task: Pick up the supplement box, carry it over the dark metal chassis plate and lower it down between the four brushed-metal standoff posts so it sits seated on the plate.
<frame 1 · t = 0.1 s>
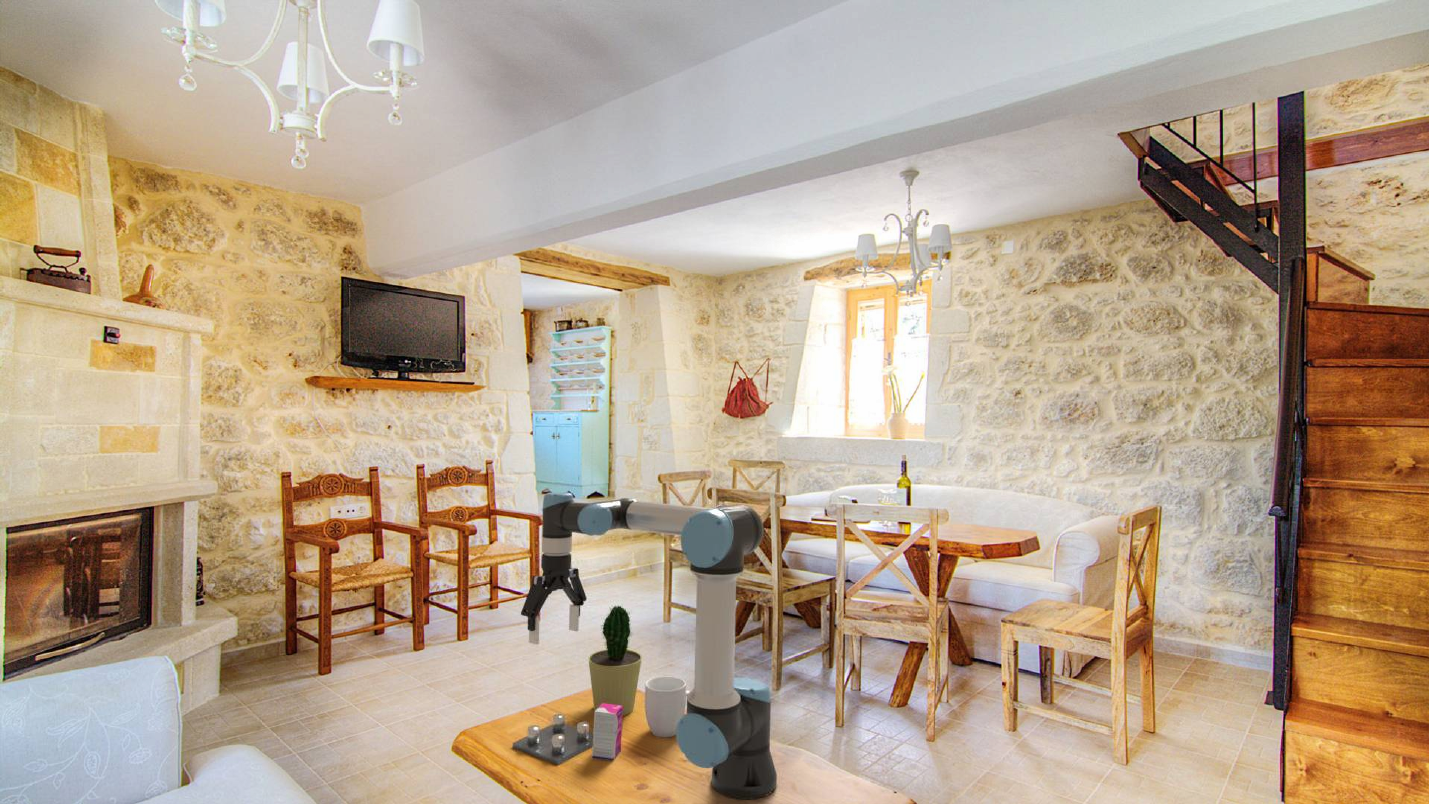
hand: (554, 636, 179), 28 cm above the table, fingers open, 13 cm apart
chassis: (558, 743, 180), on the table
potted cactus: (613, 709, 203), on the table
supplement box: (607, 755, 175), on the table
mug: (668, 732, 189), on the table
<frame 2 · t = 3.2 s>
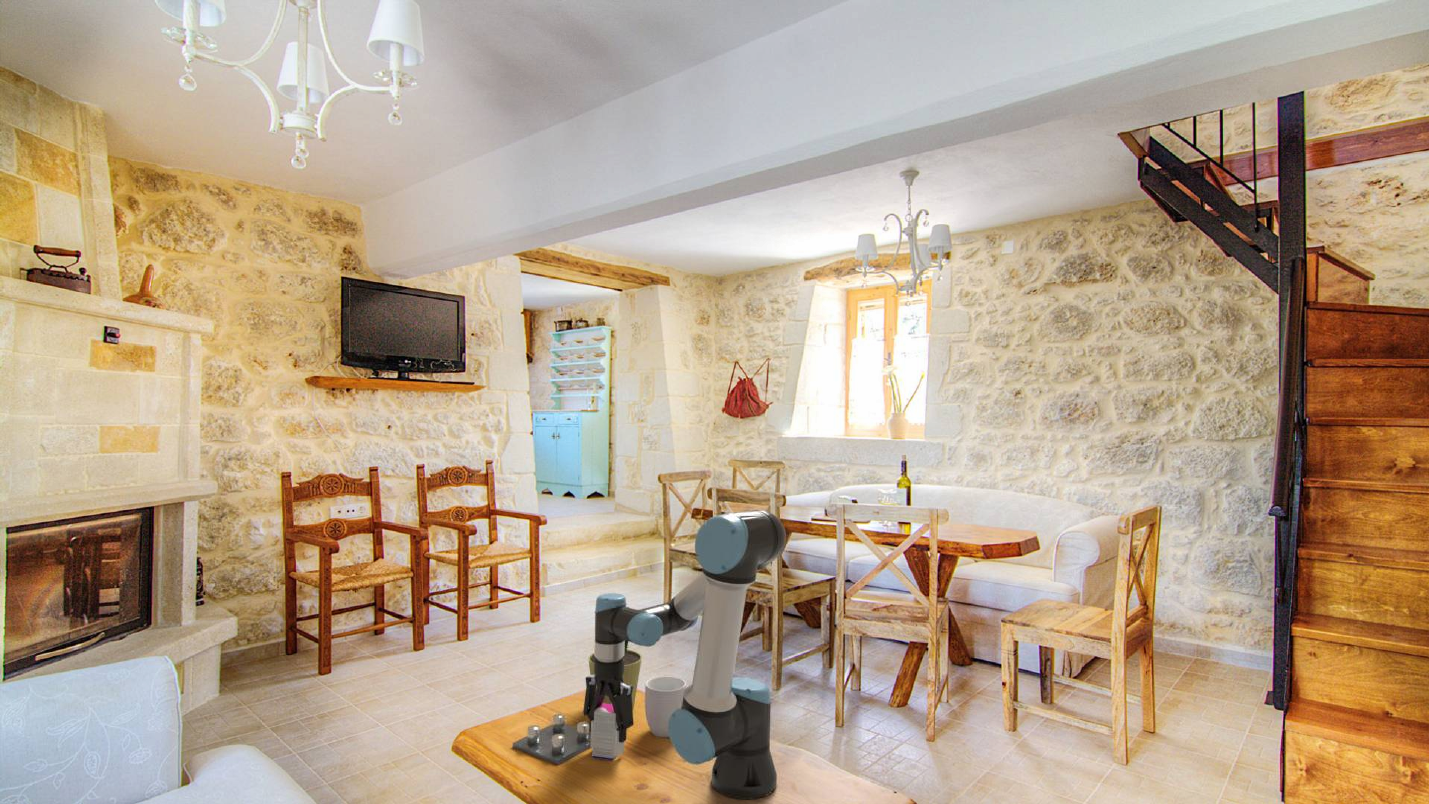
hand: (607, 749, 175), 1 cm above the table, fingers closed on supplement box, 7 cm apart
supplement box: (607, 755, 175), on the table, touching gripper
everything else where it was.
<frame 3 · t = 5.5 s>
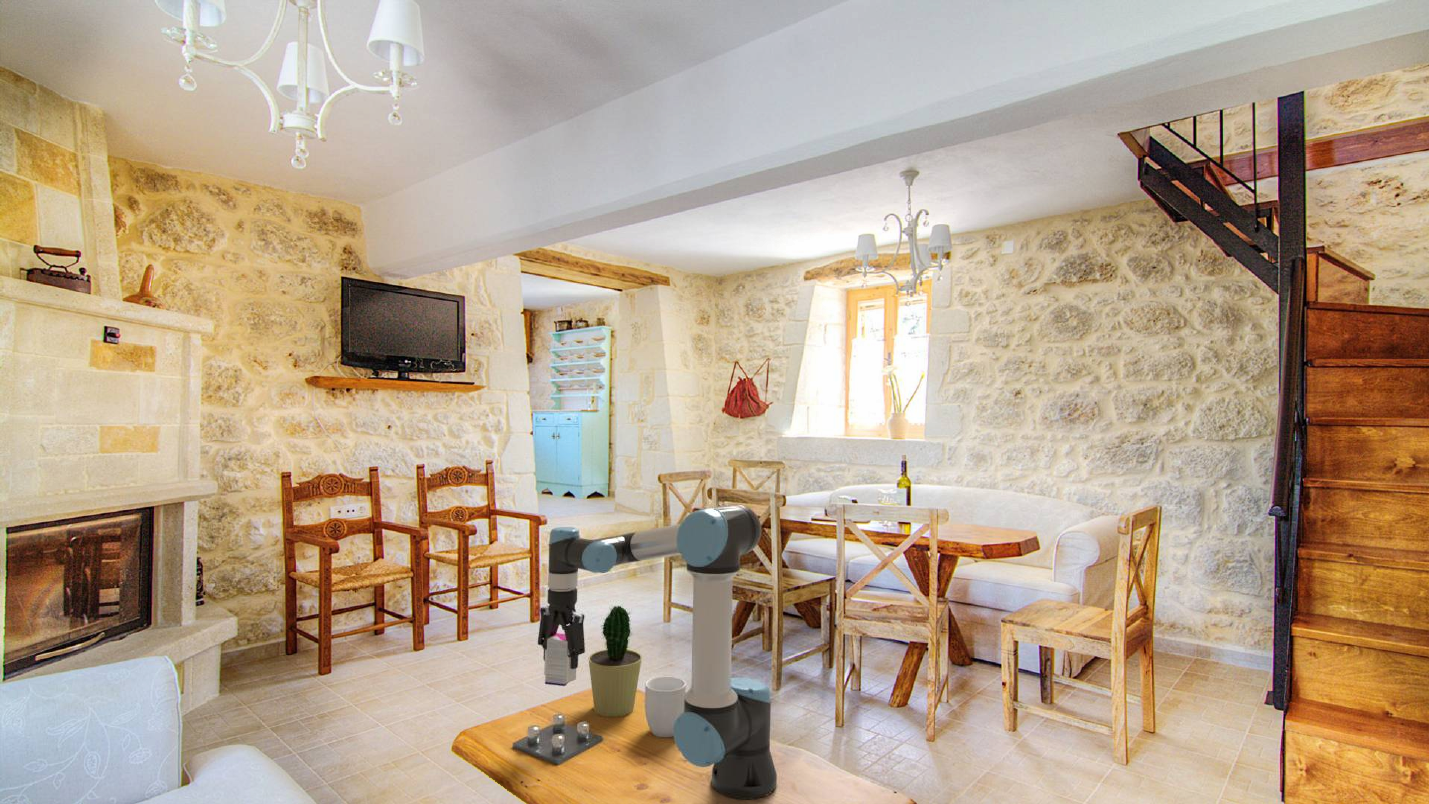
hand: (560, 677, 181), 17 cm above the table, fingers closed on supplement box, 7 cm apart
supplement box: (559, 682, 181), point 16 cm above the table, touching gripper
everything else where it was.
when the fingers open (4 cm above the table, at t = 7.7 s): supplement box drops 1 cm, resting on chassis.
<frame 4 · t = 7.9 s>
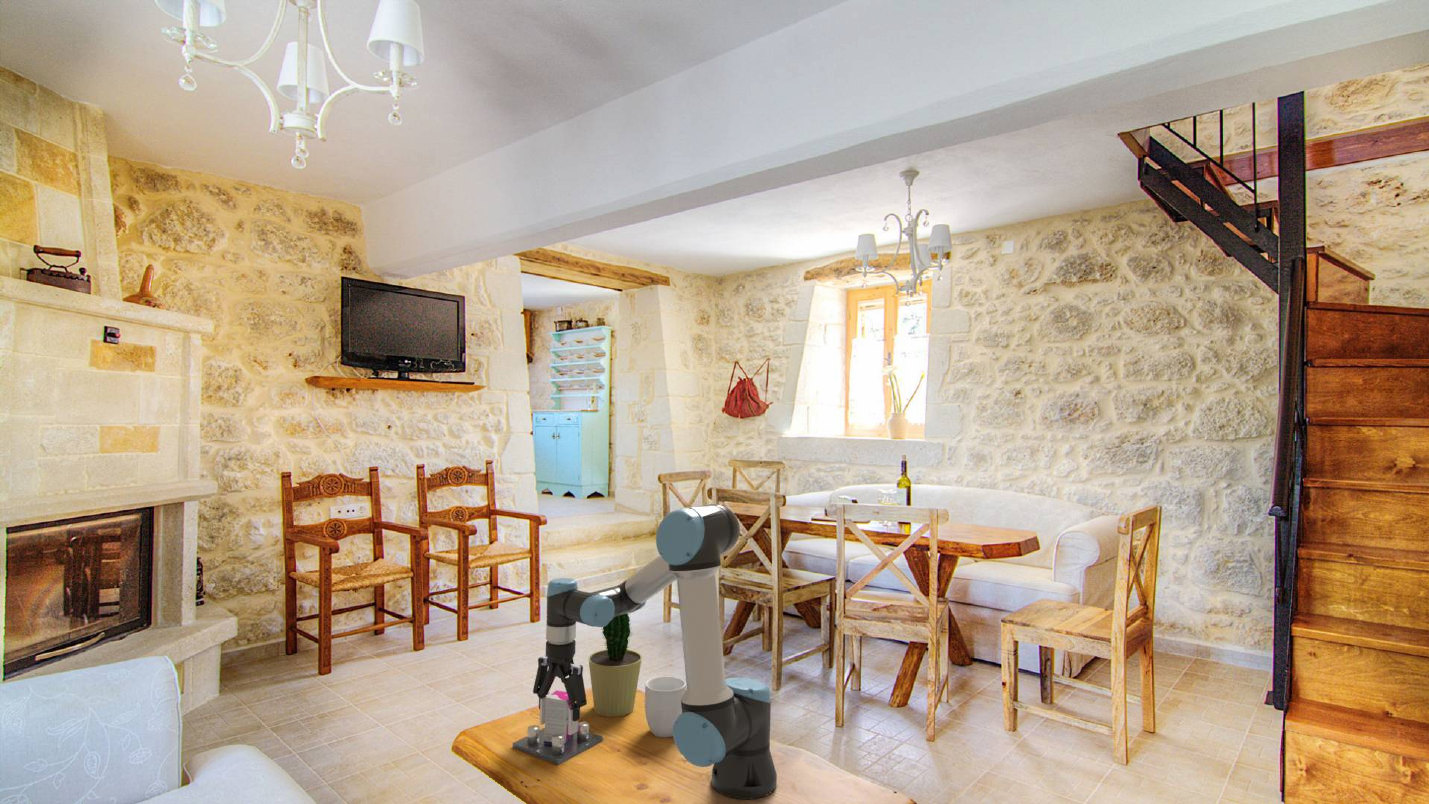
hand: (558, 727, 181), 4 cm above the table, fingers open, 9 cm apart
supplement box: (559, 740, 180), point 1 cm above the table, touching chassis
everything else where it was.
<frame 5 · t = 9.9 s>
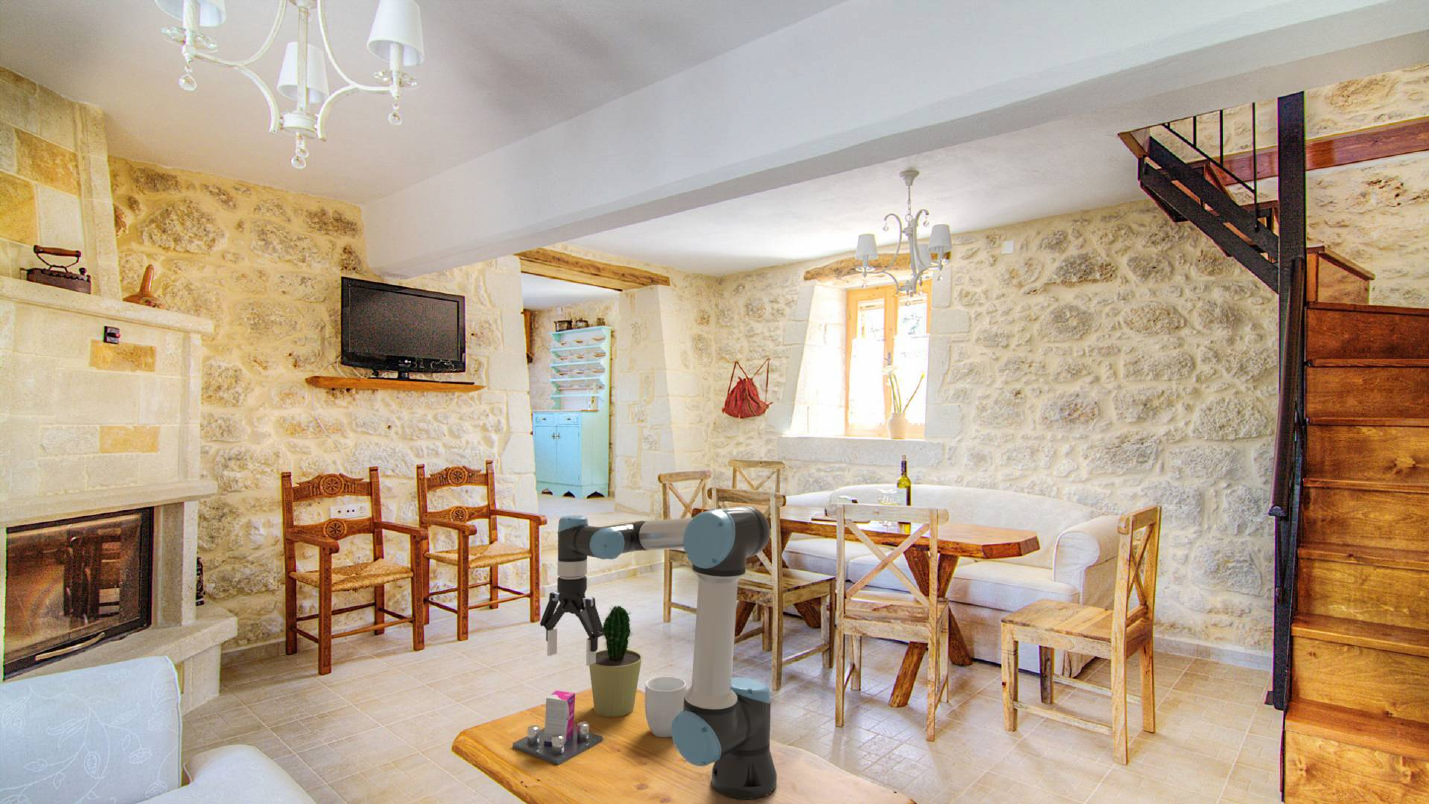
hand: (571, 659, 181), 22 cm above the table, fingers open, 13 cm apart
nothing on the table moved.
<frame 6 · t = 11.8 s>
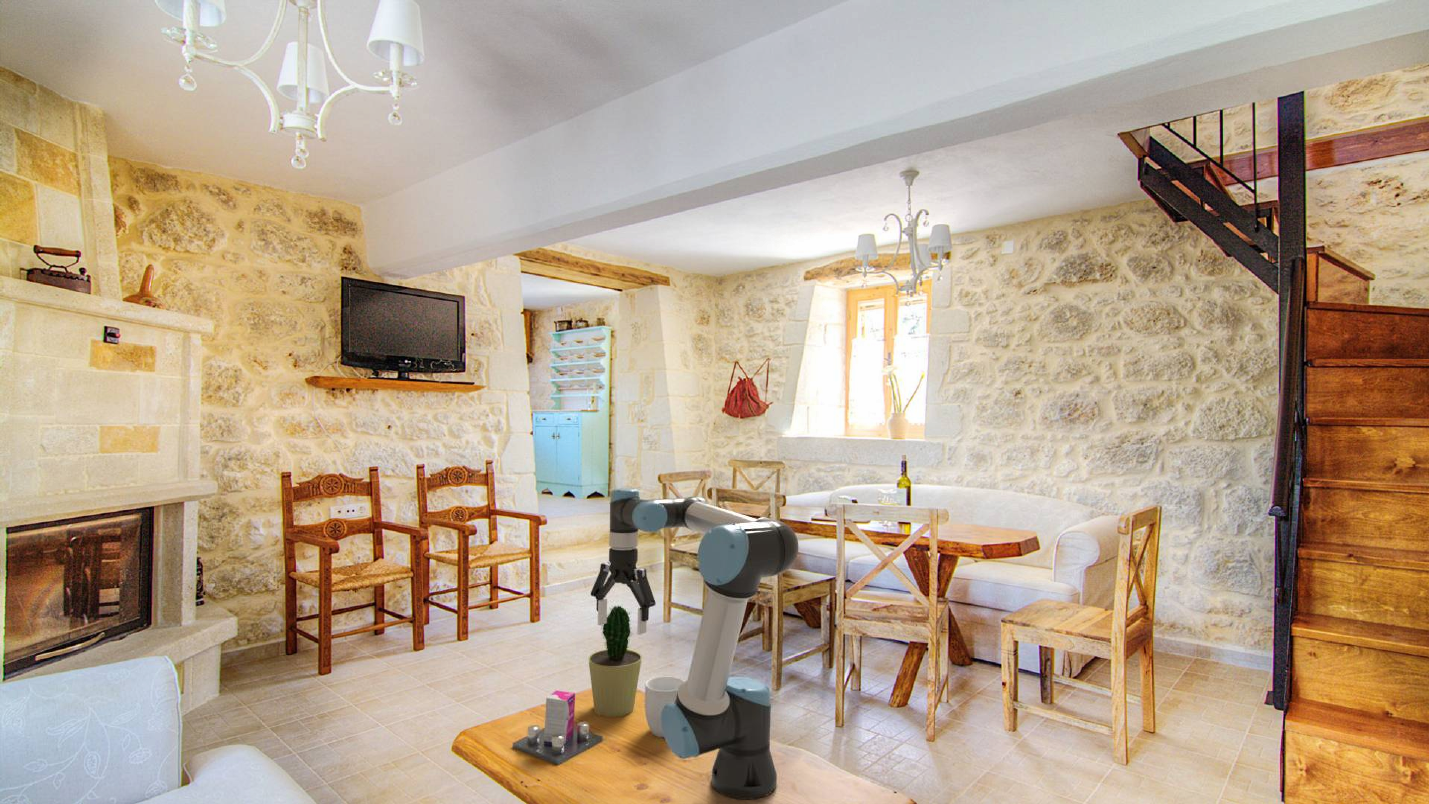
hand: (621, 628, 185), 29 cm above the table, fingers open, 13 cm apart
nothing on the table moved.
at the end: supplement box 0.3 cm off-centre on the chassis, point 0.8 cm above the chassis's base; supplement box tilted 0°; the gripper is holding nothing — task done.
